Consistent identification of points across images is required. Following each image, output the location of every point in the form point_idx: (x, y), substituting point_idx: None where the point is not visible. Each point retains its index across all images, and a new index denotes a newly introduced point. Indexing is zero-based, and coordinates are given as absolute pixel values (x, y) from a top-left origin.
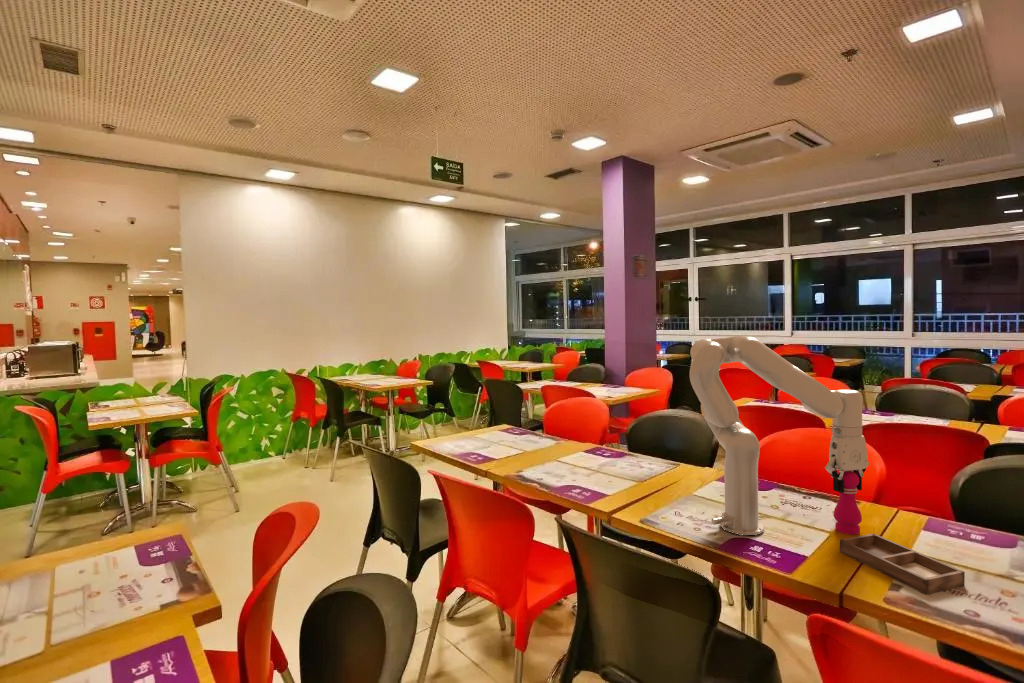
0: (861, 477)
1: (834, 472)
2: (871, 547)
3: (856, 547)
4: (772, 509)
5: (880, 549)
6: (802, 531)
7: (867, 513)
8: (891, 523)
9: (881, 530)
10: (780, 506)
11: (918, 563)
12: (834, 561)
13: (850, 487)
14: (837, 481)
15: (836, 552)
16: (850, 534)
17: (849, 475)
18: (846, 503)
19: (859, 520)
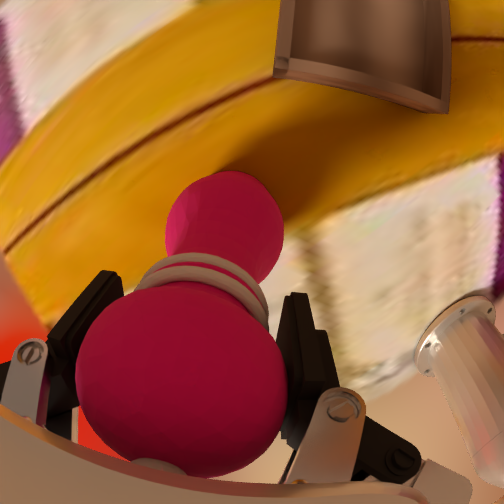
0: (49, 336)
1: (409, 465)
2: (322, 57)
3: (450, 50)
4: None
5: (308, 33)
6: (374, 271)
7: (65, 276)
8: (54, 198)
9: (118, 165)
10: None
11: None
12: (475, 95)
13: (225, 299)
14: (338, 385)
15: (431, 118)
16: (257, 180)
17: (217, 413)
18: (254, 248)
19: (219, 175)
